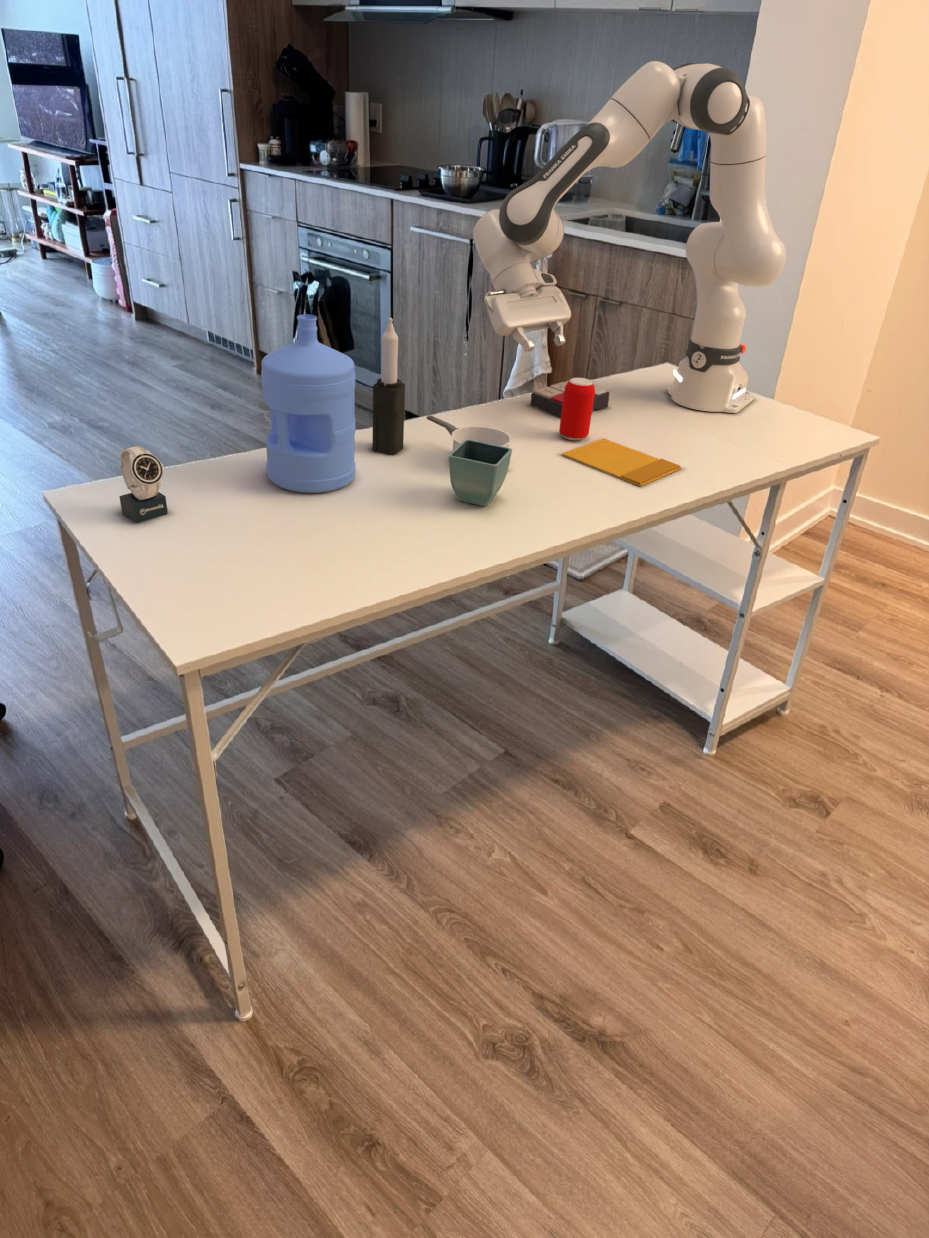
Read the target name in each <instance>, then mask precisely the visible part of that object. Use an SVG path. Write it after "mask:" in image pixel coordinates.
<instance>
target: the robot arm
mask: <svg viewBox="0 0 929 1238" xmlns="http://www.w3.org/2000/svg"><path fill="white" fill-rule="evenodd" d="M765 112H766V111H765V107H764V104H763V102H762V100H761V99H760V98H758V97H756V96H755V95H751V94H747V90H746V87H745V85H744V82H743V80H742V79H741V77H740V76H739V75H738V74H737V73H736V72H735V71H733V70H732V69H729V68H728V67H727V68H726V67H722V66H720V65H717V64H713V63H706V62H705V63H696V62H688V63H687V62H686V63H683V64H681V65H677V66H676V67H674V68H671V66H669V65H667V64H666V63H665V62H662V61H659V60H653V61H649V62H647V63H645V64H644V65H643V66H641V67H640V68H638V70H636V72H634V73H633V74H632V75H631V76H630V77H629V78H628V79H627V80H626V81H625V82H624V83H623V84H621V86H620V87H619V88H618V89H617V90H616V92H614V94H613V95H612V96H611V97H610V99H609V100H608V101H607V102H606V103H605V104H604V105H603V107H601V109H600V110H599V111H598V113H596V115H595V116H594V117H592V119H591V120H590V121H589V122H588V123H587V124H586V125H585V126H583V127H582V128H581V129H579V130H578V131H577V132H576V133H575V134H574V135H573V136H572V137H571V138H570V139H569V140H568V141H567V142H566V143H565V144H564V145H563V146H562V147H561V148H560V149H559V150H558V152H556V154H554V155H553V156H552V158H550V159H549V161H547V163H546V164H544V166H543V167H541V169H540V170H538V172H537V173H536V174H535V175H534V176H532V178H530V179H529V180H528V181H526V182H524V183H523V184H520V185H519V186H517V187H516V188H514V189H513V190H511V191H510V192H509V193H508V194H507V195H506V196H505V198H504V199H503V201H502V202H501V205H500V207H499V209H498V208H495V209H490V210H489V211H487V212H485V213H484V214H483V215H481V217H480V218H479V219H478V220H477V221H476V223H475V224H474V228H473V231H472V237H473V243H474V246H475V250H476V253H477V254H478V256H479V259H480V261H481V264H482V265H483V267H484V269H485V270H486V272H488V275H489V276H490V278H491V280H490V281H491V284H492V286H493V289H494V290H489V291H487V292H486V294H485V295H484V299H483V300H484V304H485V306H486V308H487V313H488V316H489V320H490V323H491V326H492V328H493V331H494V333H496V334H497V335H498V336H499V337H504V336H510V335H511V336H512V338H513V340H514V341H516V342H517V343H518V344H519V345H520V346H521V347H522V349H523V351H524V352H525V353H526V352H532V350H533V349H535V344H534V342H533V340H532V339H529V338H528V337H527V336H526V335H525V334H524V333H527V332H528V333H529V332H533V331H540V330H546V329H550V330H551V331H552V332H553V333H554V338H553V339H552V340H553V343H554V344H555V346H556V347H558V346H559V347H560V346H563V345H564V344H565V343H566V338H565V336H564V325H565V324H567V322H569V321H570V319H572V318H571V317H572V310H571V308H570V306H569V304H568V302H567V299H566V297H565V295H564V294H563V292H562V291H561V289H560V288H559V287H558V286H556V284H557V283H558V281H557V278H556V277H555V275H553V274H551V273H547V272H543V271H540V270H538V269H536V268H533V266H532V264H531V263H534V262H536V261H538V260H542V259H544V258H546V257H549V256H550V255H552V254H553V253H554V252H556V251H557V250H558V249H559V247H560V246H561V245H562V242H563V240H564V236H565V226H564V223H563V220H562V219H561V216H559V214H558V213H557V211H556V210H555V207H556V205H557V203H558V202H559V201H560V200H561V199H562V198H563V196H564V195H565V194H566V193H567V192H569V190H571V188H572V187H573V186H574V185H575V184H576V183H577V182H578V181H579V180H580V179H581V178H582V177H583V176H584V175H585V174H586V173H587V172H589V171H591V170H592V169H595V168H599V167H606V168H611V169H613V168H622V167H624V166H626V165H627V164H629V163H630V162H632V161H633V159H635V158H636V157H637V156H638V155H640V153H641V152H642V151H643V150H644V149H645V148H646V146H647V145H648V144H649V143H650V142H651V141H652V140H653V138H654V137H655V136H656V135H657V133H658V132H659V130H660V129H661V128H663V127H664V126H665V125H666V124H668V123H669V122H670V121H671V122H673V123H675V124H678V125H681V126H682V127H684V128H687V129H689V130H693V131H702V132H704V133H707V134H708V135H709V139H710V156H709V157H710V162H709V202H710V203H711V206H712V207H713V209H714V210H715V211H716V213H717V214H718V216H719V218H720V221H711V222H704V223H703V222H702V223H700V224H699V225H697V226H696V227H695V228H694V229H693V230H692V231H691V233H690V234H689V236H688V238H687V240H686V245H685V256H686V259H687V261H688V263H689V266H690V267H691V269H692V272H693V276H694V281H695V290H696V308H695V313H694V314H695V315H694V320H693V326H692V331H691V336H690V338H689V339H688V341H687V344H686V349H685V357H684V358H683V359H681V360H680V361H679V363H678V366H677V370H676V369H673V371H672V372H673V373H672V374H673V375H674V376H675V378H674V380H673V384H672V386H670V387H668V388H667V391H666V392H667V394H668V395H670V399H671V400H672V401H673V402H674V403H676V404H678V405H679V406H682V407H685V408H687V409H692V410H697V411H702V412H710V413H711V412H713V413H715V412H717V413H729V414H738V412H740V411H741V410H743V408H745V407H746V406H747V405H749V404H750V403H751V402H753V401H754V400H755V395H754V394H753V393H751V392H749V391H747V386H748V381H749V374H748V373H747V371H746V370H745V369H744V367H743V366H742V364H741V362H740V360H741V354H742V355H743V354H745V353H746V351H747V349H748V347H747V344H743V343H740V342H741V340H742V339H741V338H742V335H743V330H744V326H745V321H746V317H747V309H746V306H745V304H744V303H743V301H742V299H741V296H740V293H739V285H740V286H744V287H753V288H754V287H756V288H760V287H761V288H763V287H768V286H771V285H772V284H773V283H775V281H777V280H778V279H779V277H780V276H781V275H782V273H783V271H784V269H785V267H786V263H787V249H786V246H785V244H784V242H782V240H781V239H780V238H779V236H778V235H777V233H776V231H775V229H774V226H773V223H772V220H771V217H770V213H769V210H768V204H767V197H766V168H767V167H766V166H767V149H768V147H767V145H768V144H767V142H768V140H767V139H768V138H767V137H768V136H767V122H766V113H765Z"/></svg>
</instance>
